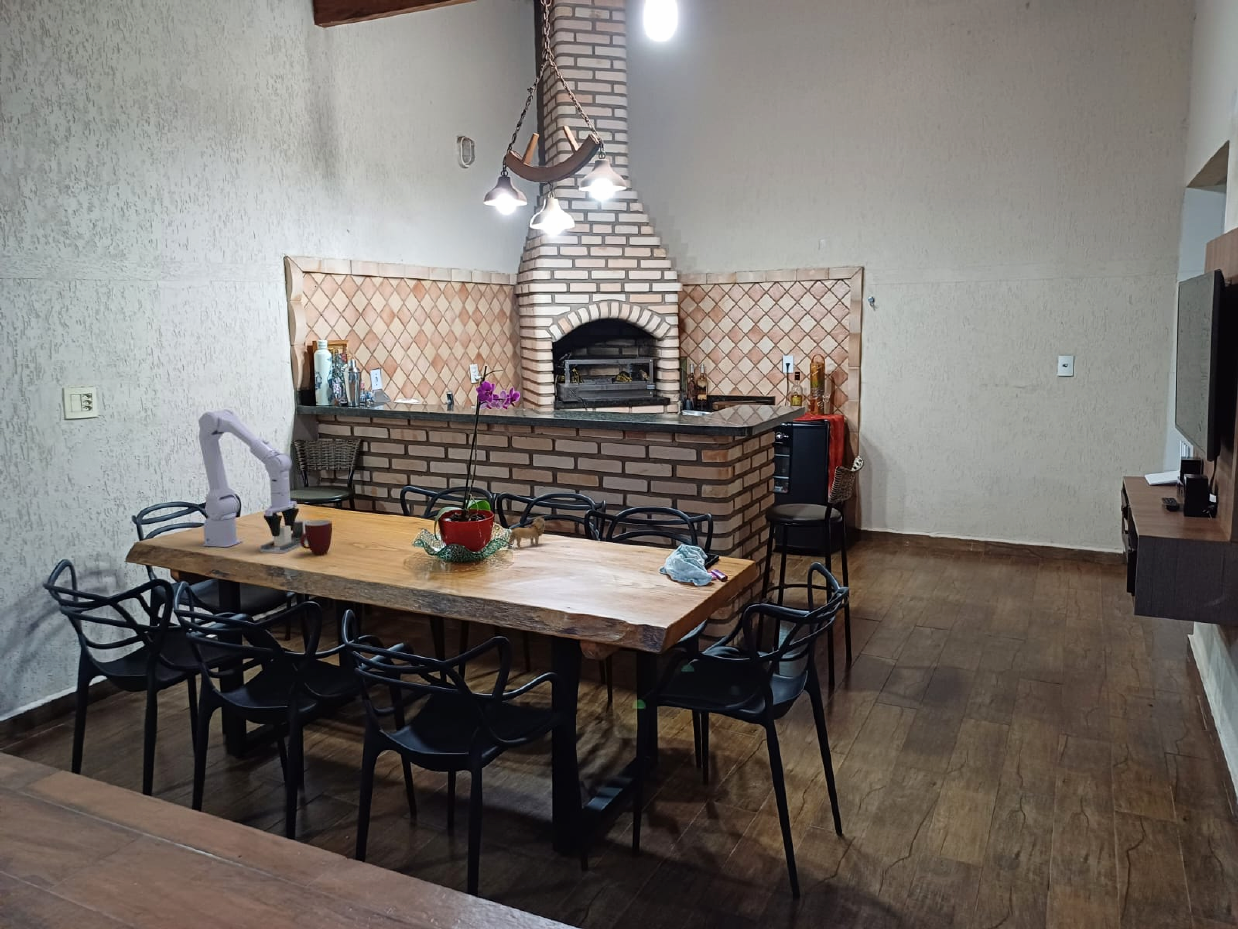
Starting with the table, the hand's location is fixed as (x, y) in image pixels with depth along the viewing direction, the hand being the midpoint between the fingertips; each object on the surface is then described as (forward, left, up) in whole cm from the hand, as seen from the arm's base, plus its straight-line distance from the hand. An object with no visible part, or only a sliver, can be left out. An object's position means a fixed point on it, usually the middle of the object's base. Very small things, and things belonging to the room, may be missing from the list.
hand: (282, 533), depth 284 cm
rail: (0, +3, -5) cm, 6 cm away
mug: (+15, -5, -5) cm, 17 cm away
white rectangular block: (0, 0, -4) cm, 4 cm away
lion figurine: (+77, +18, -5) cm, 79 cm away
